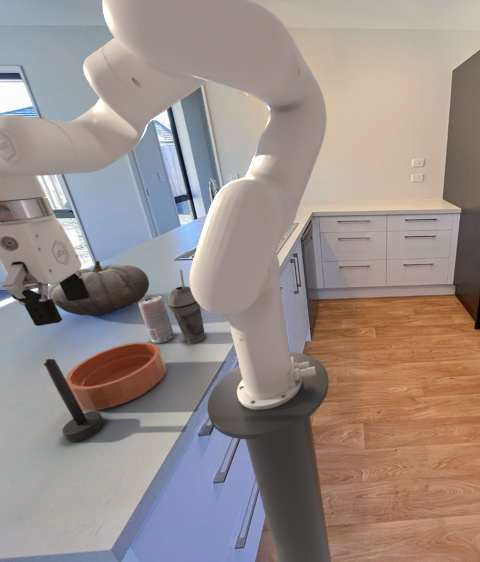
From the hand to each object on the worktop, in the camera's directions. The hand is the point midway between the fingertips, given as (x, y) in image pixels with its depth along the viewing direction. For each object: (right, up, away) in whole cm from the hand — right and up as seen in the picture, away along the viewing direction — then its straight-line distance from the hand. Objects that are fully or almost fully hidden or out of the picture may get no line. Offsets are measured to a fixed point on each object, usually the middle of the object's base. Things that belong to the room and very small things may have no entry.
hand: (65, 310), depth 52 cm
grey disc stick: (+1, -22, +3) cm, 23 cm away
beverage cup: (+5, -11, +30) cm, 33 cm away
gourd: (-37, -4, +50) cm, 62 cm away
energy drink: (-5, -11, +31) cm, 33 cm away
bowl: (-1, -18, +14) cm, 23 cm away
